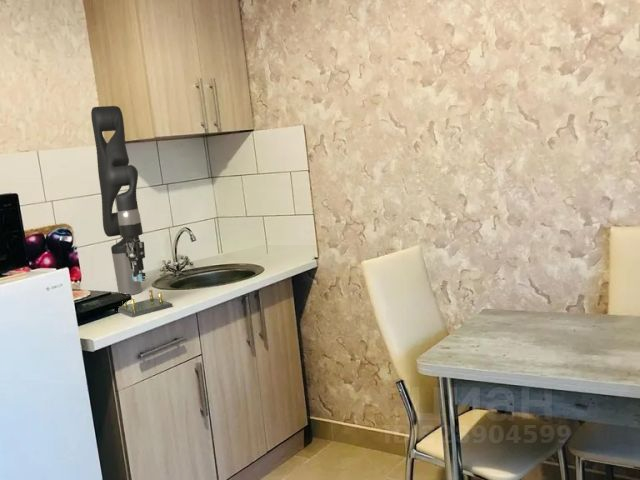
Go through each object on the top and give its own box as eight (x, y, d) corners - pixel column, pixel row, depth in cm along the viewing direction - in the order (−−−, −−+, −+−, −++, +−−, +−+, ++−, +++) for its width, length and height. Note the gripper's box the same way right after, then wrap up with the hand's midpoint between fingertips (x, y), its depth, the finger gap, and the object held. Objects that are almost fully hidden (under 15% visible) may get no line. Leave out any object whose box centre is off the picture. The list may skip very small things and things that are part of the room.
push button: (152, 279, 232) (148, 251, 230) (141, 282, 227) (136, 254, 226) (139, 279, 235) (135, 252, 234) (128, 282, 231) (123, 254, 230)
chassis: (115, 311, 235) (113, 297, 235) (154, 301, 244) (152, 287, 243) (132, 317, 223) (129, 302, 222) (172, 306, 232) (170, 292, 231)
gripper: (112, 223, 232) (120, 270, 235) (127, 225, 221) (135, 273, 223) (132, 220, 237) (139, 265, 239) (148, 221, 225) (155, 269, 228)
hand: (137, 269), depth 231 cm, fingers closed on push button, 5 cm apart
